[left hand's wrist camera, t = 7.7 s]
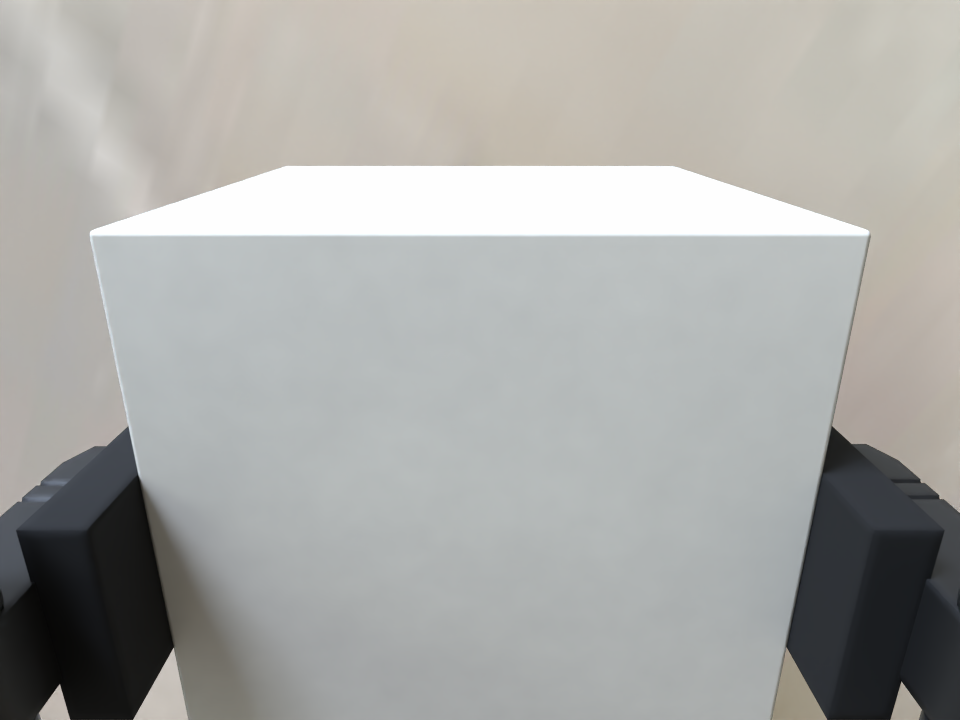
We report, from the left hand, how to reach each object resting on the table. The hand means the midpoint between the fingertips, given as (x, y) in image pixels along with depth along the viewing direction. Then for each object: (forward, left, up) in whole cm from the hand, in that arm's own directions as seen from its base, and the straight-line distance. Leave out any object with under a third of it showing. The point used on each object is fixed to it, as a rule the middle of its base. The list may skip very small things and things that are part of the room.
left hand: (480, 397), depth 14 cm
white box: (0, 0, -2) cm, 2 cm away
